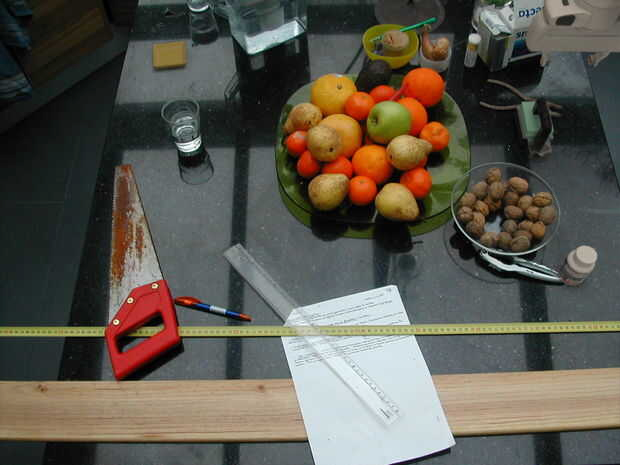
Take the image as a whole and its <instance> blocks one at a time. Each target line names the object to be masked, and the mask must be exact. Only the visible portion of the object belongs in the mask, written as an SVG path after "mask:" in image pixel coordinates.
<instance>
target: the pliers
mask: <svg viewBox="0 0 620 465" xmlns="http://www.w3.org/2000/svg"><path fill="white" fill-rule="evenodd" d="M486 82H487V83H493V84H497V85H500V86H503V87H505V88H507V89H509V90H510V91H511V92H512V93H514V94H515V95H516V96H518V97H519V98H520V99H522V100H523V101H524V102H536V100H537V99H538V98H534V97H529V96H527V95H525V94H524V93H522V92H520V90H518V89H517V88H515V87H513V86H512V85H511V84H508V83H506V82H503V81H500V80H496V79H487V81H486ZM547 103H548V107H549V112H550V116H551V117H553V118H559V119H560V118H561V116H562V114H561V113H559V112H556V111H552V110H551V109H554V110H559V111H563V108H564V107H563V106H562V105H559V104H557V103H554V102H550V101H547ZM479 105H480V106H483V107H485V108H489V109H492V110H497V111H508V110H509V111H510V110H516V107H517V106H520V105H521V103H520V104H513V105H506V106H497V105H491V104H488V103H485V102H483V101H480V102H479Z"/></svg>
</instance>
